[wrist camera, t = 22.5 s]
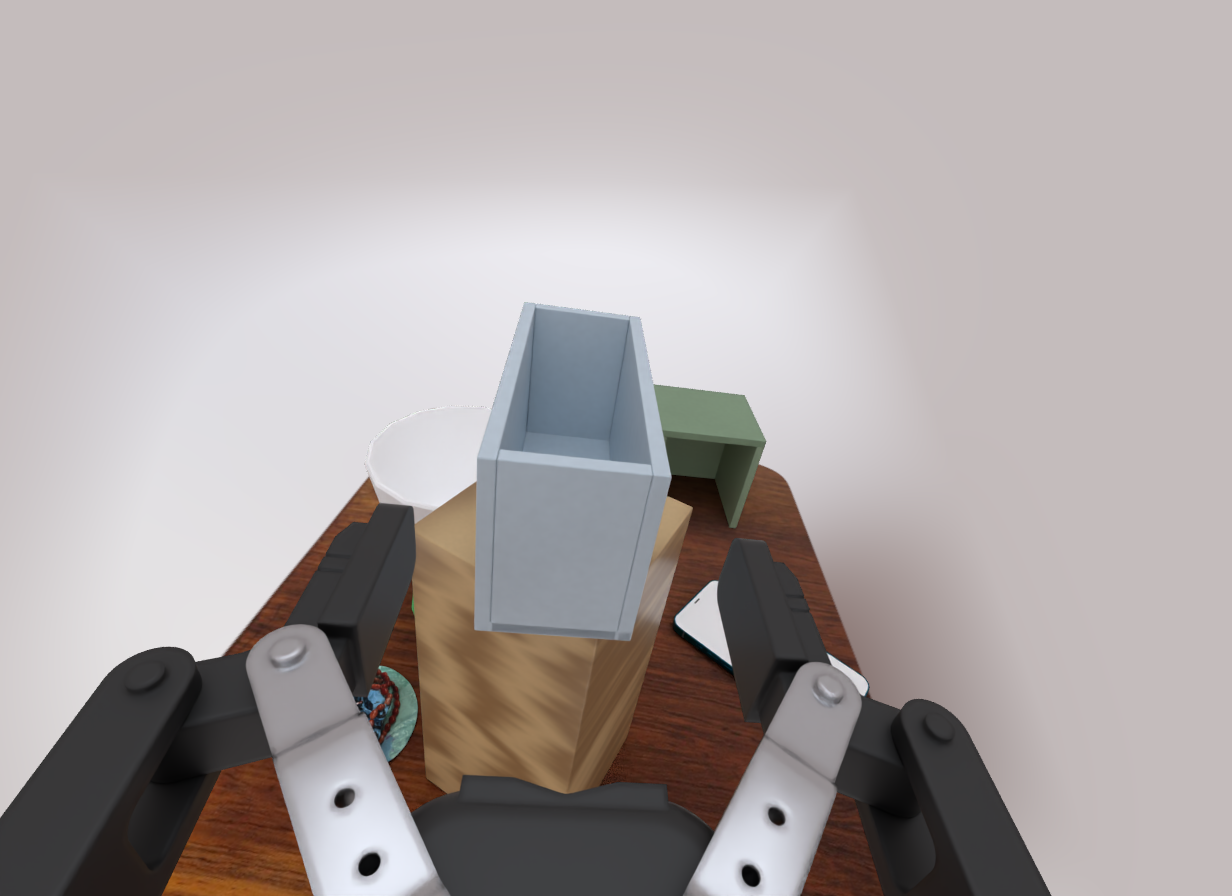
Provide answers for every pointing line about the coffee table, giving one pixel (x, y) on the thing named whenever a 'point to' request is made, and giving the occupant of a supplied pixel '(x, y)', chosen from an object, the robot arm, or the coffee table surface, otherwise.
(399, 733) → the dish
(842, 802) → the coffee table surface
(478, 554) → the bin
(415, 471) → the cup
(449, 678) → the stand
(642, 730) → the coffee table surface
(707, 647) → the smartphone
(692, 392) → the cabinet
